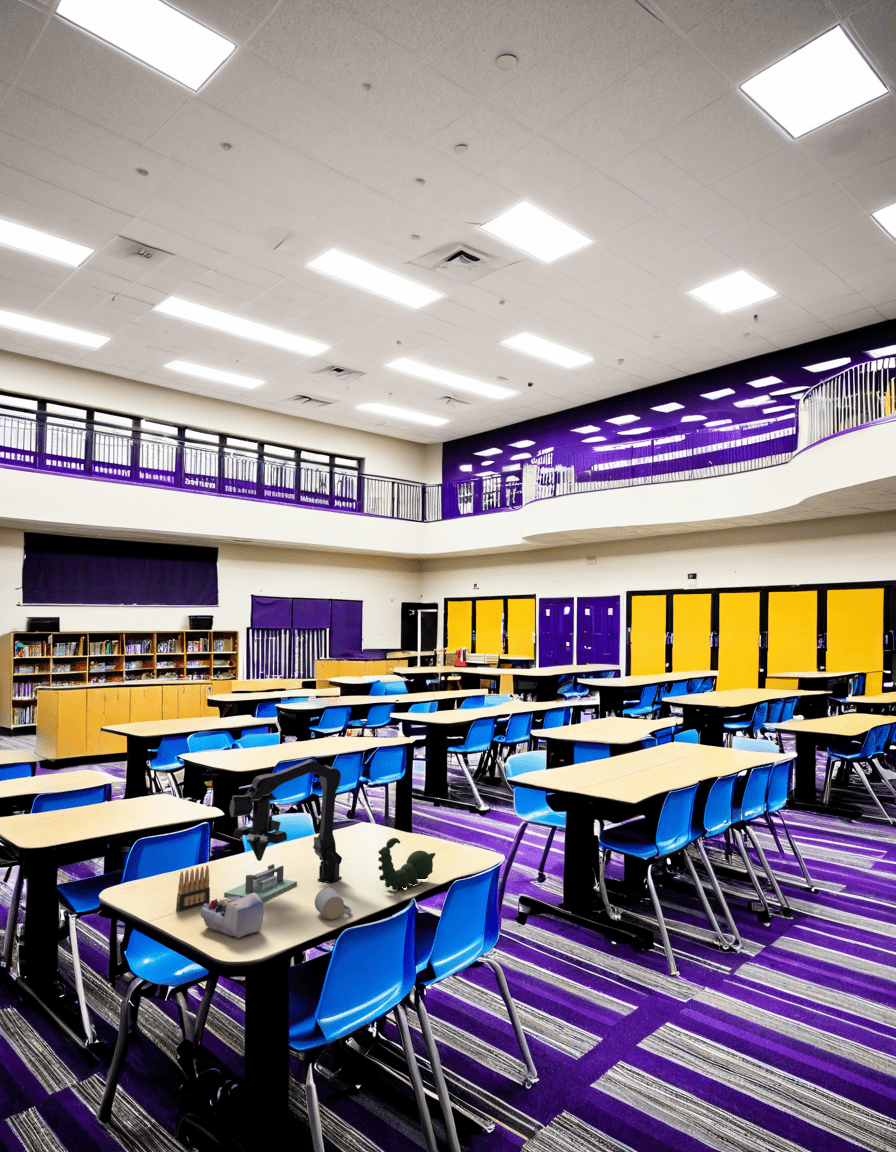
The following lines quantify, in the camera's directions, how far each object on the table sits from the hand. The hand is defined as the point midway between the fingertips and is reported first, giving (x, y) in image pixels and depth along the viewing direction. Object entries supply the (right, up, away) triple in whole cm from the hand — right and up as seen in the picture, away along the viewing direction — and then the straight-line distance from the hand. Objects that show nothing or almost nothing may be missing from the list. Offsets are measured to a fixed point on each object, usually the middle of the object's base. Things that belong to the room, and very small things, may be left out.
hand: (259, 860), depth 244 cm
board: (+1, -10, 0) cm, 10 cm away
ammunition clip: (-17, -9, -16) cm, 25 cm away
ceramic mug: (+29, -9, -22) cm, 38 cm away
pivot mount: (+4, -10, +7) cm, 13 cm away
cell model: (+1, -7, -34) cm, 35 cm away
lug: (-2, -9, -5) cm, 10 cm away
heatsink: (+1, -9, 0) cm, 9 cm away
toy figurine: (+51, -12, +6) cm, 53 cm away
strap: (+1, -6, +2) cm, 7 cm away
